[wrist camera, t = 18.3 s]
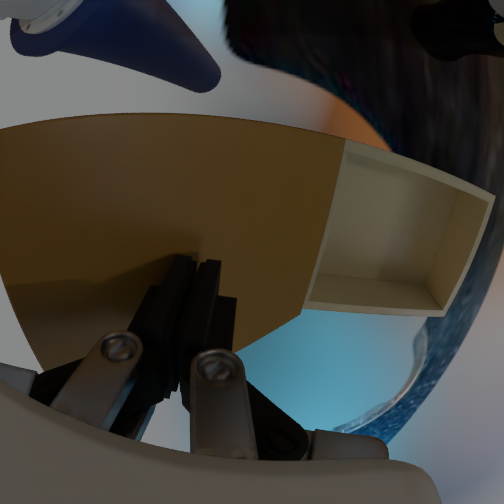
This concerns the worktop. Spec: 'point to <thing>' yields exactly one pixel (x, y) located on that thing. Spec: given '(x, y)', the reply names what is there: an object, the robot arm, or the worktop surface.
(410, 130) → the worktop surface
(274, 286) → the cover
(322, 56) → the worktop surface
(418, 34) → the beer glass
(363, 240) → the open cream tray
